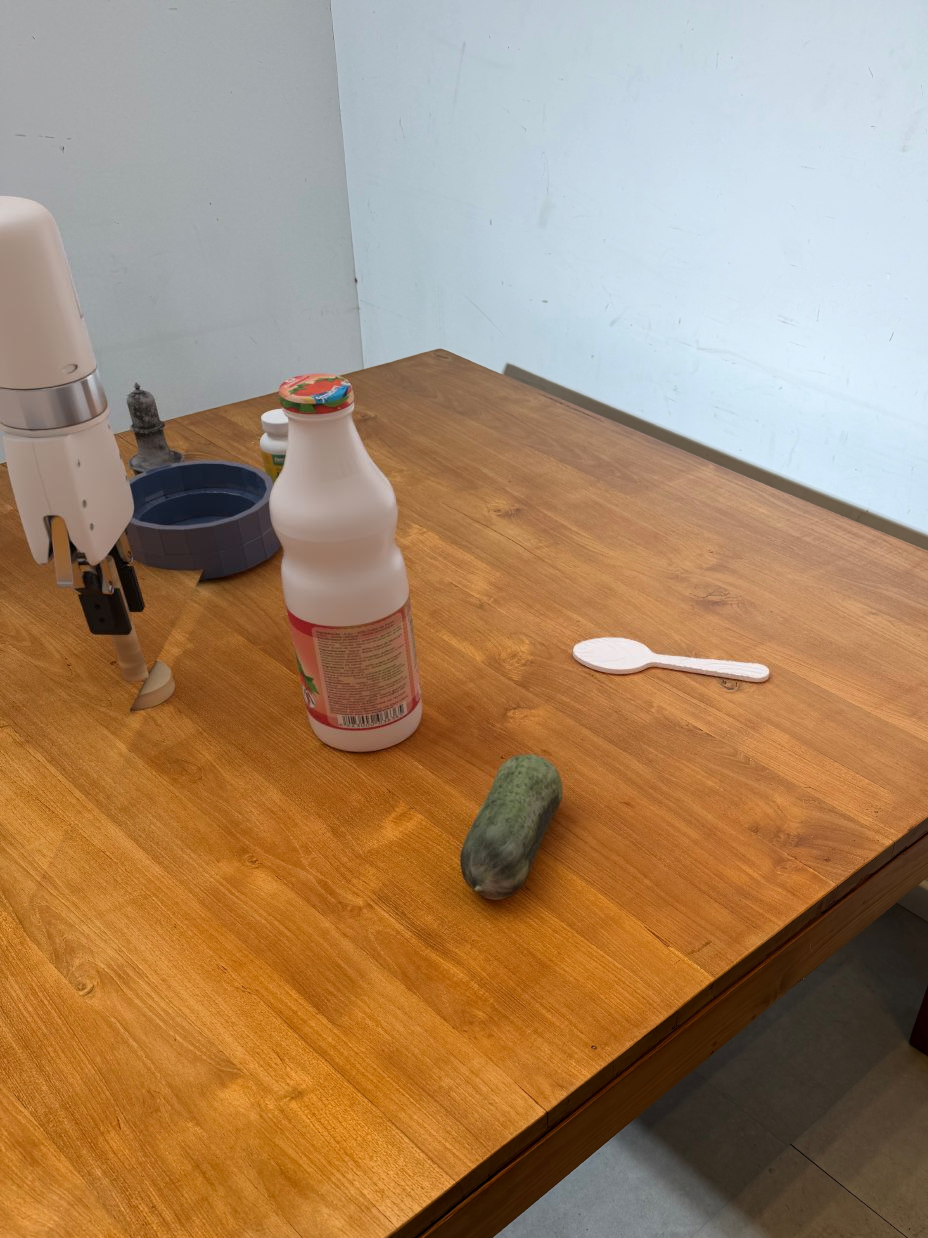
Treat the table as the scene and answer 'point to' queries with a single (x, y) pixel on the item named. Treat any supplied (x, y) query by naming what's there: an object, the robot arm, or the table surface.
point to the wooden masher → (139, 659)
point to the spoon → (657, 660)
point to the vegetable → (510, 826)
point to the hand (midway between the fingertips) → (118, 619)
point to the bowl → (202, 517)
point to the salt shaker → (148, 434)
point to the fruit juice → (343, 574)
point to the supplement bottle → (274, 442)
